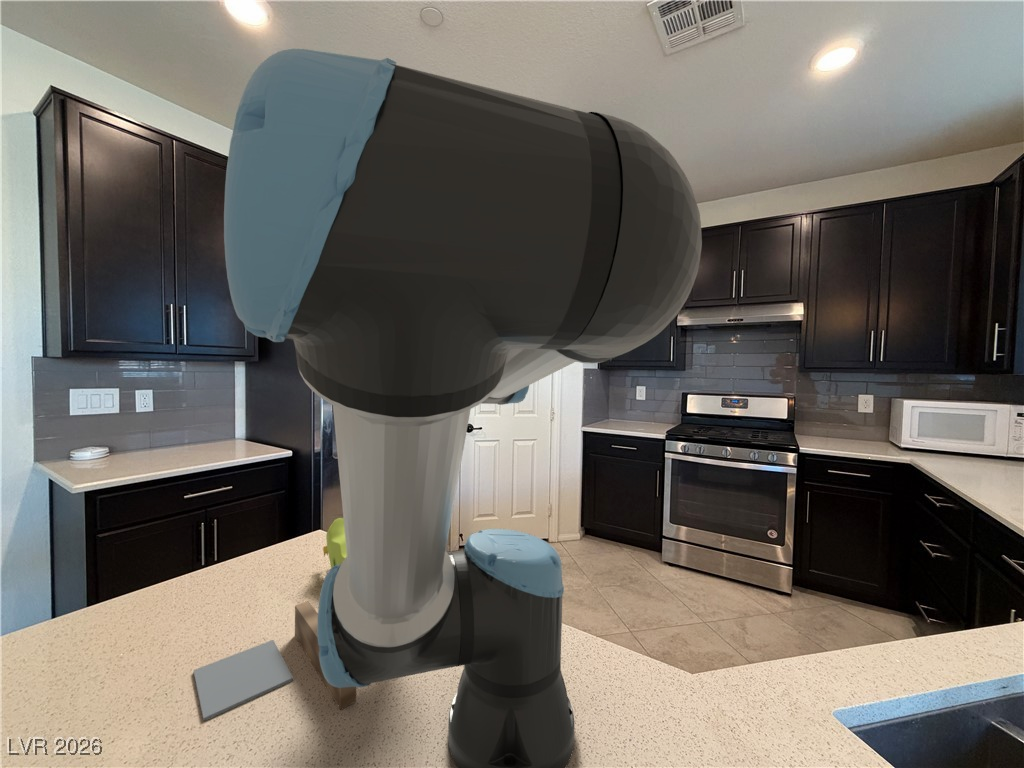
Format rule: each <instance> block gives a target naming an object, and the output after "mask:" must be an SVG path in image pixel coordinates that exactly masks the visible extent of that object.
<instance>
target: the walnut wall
mask: <svg viewBox="0 0 1024 768" xmlns="http://www.w3.org/2000/svg"><path fill="white" fill-rule="evenodd" d="M317 624H318V612H317V610H316V609H315V608H314V607H313V605H312V604H311V602H310V601H309V600H307V601H305V602H301V603H298V604H295V605H294V637H295V639H296V640H297V642H298V644H300V646H301V648H302V650H303V651H304V653H305V655H306V656H307V658H308V659H309V661H310V663H311V664H312V666H313V667H314V669H315V671H316V673H317V674H318V675H319V677H320V679H321V680H322V682H323V684H324V686H325V687H326V689H327V690H328V692H329V693H330V695H331V696H332V698H333V700H334V701H335V703H336V705H337V706H338V708H339V710H344V709H345V708H347V707H349V706H350V705H352V704H354V703H356V702H357V687H343V688H337V687H334V686H332V685H330V684H329V683H328V682H327V680H326V679H325V677H324V675H323V673H322V669H321V665H320V660H319V652H320V646H319V645H318V637H317Z"/></svg>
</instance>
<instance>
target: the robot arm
mask: <svg viewBox="0 0 1024 768" xmlns="http://www.w3.org/2000/svg"><path fill="white" fill-rule="evenodd" d="M237 106H238V107H237V111H236V115H235V119H234V125H233V130H232V135H231V138H230V142H229V148H228V149H229V150H228V158H227V165H226V171H225V172H226V173H225V182H224V183H225V184H224V204H223V205H224V207H223V208H224V209H223V210H224V211H223V239H224V240H223V244H224V245H223V246H224V257H225V258H224V261H225V268H226V276H227V277H226V278H227V281H228V288H229V293H230V294H229V295H230V298H231V303H232V305H233V308H234V311H235V315H236V316H237V318H238V319H239V320H240V321H241V322H242V323H243V326H244V329H245V330H246V331H248V332H249V333H251V334H253V335H254V336H256V337H258V338H259V337H260V338H266V339H268V340H270V341H272V342H273V343H283V342H285V340H286V339H288V340H292V341H293V344H294V348H295V356H296V364H297V368H298V371H299V374H300V376H301V378H302V379H303V381H304V383H305V384H306V385H307V386H308V387H309V389H310V390H311V391H312V392H313V393H315V395H317V396H318V397H319V398H320V399H322V400H324V401H325V402H327V403H328V404H330V405H332V411H333V421H334V432H335V442H336V452H337V453H336V455H337V463H338V474H339V483H340V484H339V486H340V494H341V495H340V496H341V506H342V515H343V517H342V518H343V519H344V529H345V540H346V551H347V556H346V558H345V559H344V561H343V562H342V564H338V565H335V566H334V567H332V568H331V567H330V570H328V572H327V573H326V574H325V577H324V579H323V582H322V586H321V588H320V589H321V590H320V595H319V600H318V612H317V613H318V624H317V637H318V645H319V646H320V652H319V660H320V665H321V669H322V673H323V675H324V677H325V679H326V680H327V682H328V683H329V684H330V685H332V686H334V687H337V688H343V687H356V688H364V687H369V686H370V685H371V684H374V683H378V682H383V681H385V682H386V681H389V680H394V679H398V678H405V677H409V676H414V675H419V674H423V673H429V672H434V671H439V670H443V669H450V668H454V667H461V666H463V670H462V672H461V676H460V679H459V683H458V687H457V692H456V693H455V695H454V697H453V700H452V702H451V705H450V708H449V712H448V713H449V714H448V723H447V724H448V733H447V734H448V735H447V739H448V747H449V752H450V754H451V757H452V760H453V762H454V763H455V765H456V767H457V768H565V767H567V766H568V764H569V762H570V760H571V758H572V756H571V754H572V755H573V752H572V751H574V748H573V747H575V715H574V711H573V707H572V703H571V701H570V698H569V696H568V692H567V686H566V684H565V683H566V682H565V681H564V676H563V673H562V671H561V668H562V667H561V666H562V662H561V661H562V660H561V659H562V658H561V656H562V625H563V623H562V622H563V621H562V620H563V595H564V592H565V586H564V585H563V573H562V572H563V570H562V569H563V567H562V559H561V556H560V554H559V553H558V551H557V550H556V549H555V548H554V547H553V546H552V545H551V544H550V543H549V542H547V541H546V540H543V539H542V538H540V537H538V536H535V535H532V534H530V533H526V532H523V531H518V530H513V529H505V528H503V529H502V528H489V529H487V528H485V529H482V530H479V531H477V532H474V533H471V534H470V535H469V536H468V537H467V539H466V542H465V543H464V550H463V549H462V550H457V551H455V550H454V551H447V544H448V540H449V539H448V538H449V533H450V527H451V523H452V517H453V511H454V506H455V505H454V504H455V500H456V494H457V488H458V482H459V477H460V472H461V471H460V470H461V465H462V459H463V453H464V449H465V442H466V439H467V438H466V436H467V432H468V426H469V420H470V414H471V411H472V410H471V409H473V408H475V407H477V406H479V405H483V404H485V405H486V404H487V405H488V404H489V405H490V404H491V405H496V404H497V405H501V406H503V405H509V404H519V403H521V402H523V401H524V400H525V399H526V395H528V392H529V388H530V385H532V384H534V383H536V382H539V381H541V380H542V379H544V378H546V377H548V376H550V375H553V373H556V372H558V371H560V370H562V369H564V368H566V367H568V366H570V365H572V364H574V363H580V364H581V363H582V364H590V365H591V364H599V363H604V362H607V361H610V360H612V359H615V358H617V357H618V356H622V355H624V354H626V353H629V352H631V351H632V350H634V349H636V348H638V347H640V346H642V345H644V344H646V343H647V342H649V341H650V340H652V339H653V338H655V337H657V335H659V334H660V333H662V331H663V330H664V329H665V328H666V327H667V326H668V325H669V324H671V322H672V321H673V320H674V319H675V318H676V317H677V316H678V315H679V312H680V311H681V310H682V308H683V306H684V305H685V303H686V301H687V299H688V298H689V295H690V294H691V292H692V289H693V286H694V284H695V282H696V281H695V280H696V278H697V275H698V271H699V269H700V268H699V266H700V261H701V255H702V254H701V253H702V247H703V245H702V244H703V239H702V223H701V222H702V221H701V213H700V210H699V206H698V203H697V200H696V198H695V197H696V196H695V194H694V190H693V188H692V185H691V183H690V181H689V179H688V177H687V175H686V174H685V172H684V170H683V169H682V168H681V166H680V164H679V163H678V161H677V159H676V158H675V156H673V155H672V153H671V152H670V151H669V150H668V149H667V148H666V146H664V145H662V143H660V142H659V141H658V140H657V139H655V138H654V137H653V136H652V135H651V134H650V133H649V132H648V131H645V130H644V129H642V128H641V127H639V126H637V125H636V124H634V123H633V122H630V121H627V120H624V119H622V118H619V117H617V116H613V115H609V114H604V113H601V112H596V111H589V112H586V111H583V110H582V111H581V110H577V109H572V108H570V107H567V106H563V105H559V104H555V103H552V102H551V103H550V102H547V101H542V100H539V99H535V98H531V97H527V96H523V95H518V94H515V93H511V92H506V91H502V90H499V89H496V88H495V89H494V88H491V87H487V86H483V85H480V84H479V85H478V84H475V83H471V82H467V81H463V80H458V79H455V78H450V77H446V76H443V75H438V74H434V73H430V72H427V71H422V70H418V69H414V68H410V67H406V66H402V65H398V64H397V61H394V60H392V59H391V58H389V57H386V58H383V59H374V58H367V57H362V56H361V57H360V56H353V55H347V54H341V53H333V52H326V51H320V50H313V49H307V48H306V49H305V48H287V49H284V50H280V51H277V52H276V53H273V54H272V55H269V56H268V57H267V58H266V59H264V60H263V61H262V62H261V63H260V64H259V65H258V66H257V68H256V69H255V70H254V72H253V73H252V74H251V75H250V78H249V80H248V82H247V83H246V85H245V87H244V90H243V92H242V96H241V98H240V100H239V103H238V105H237ZM570 757H571V758H570ZM569 759H570V760H569ZM566 765H567V766H566Z"/></svg>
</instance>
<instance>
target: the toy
mask: <svg viewBox="0 0 1024 768" xmlns="http://www.w3.org/2000/svg"><path fill="white" fill-rule="evenodd" d="M325 537H326V545H325V546H323V548H322V549H323V556H324V557H325V556H326V555H327V556H328V558H329V564H330V569H331V568H332V567H334V566H335V565H338V564H342V562H343V561H344V559H345V558H346V556H347V551H346V540H345V529H344V519H343V517H338V518H336V519H334V520H333V522H332V523H331V525H330V526H329V528H328V530H327V531H326V535H325Z"/></svg>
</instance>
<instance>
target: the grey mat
mask: <svg viewBox="0 0 1024 768" xmlns="http://www.w3.org/2000/svg"><path fill="white" fill-rule="evenodd" d="M193 676H194V681H195V686H196V687H195V688H196V691H197V696H198V700H199V705H200V710H201V711H200V712H201V717H202V720H203V722H205V721H208V720H210V719H212V718H214V717H217V716H219V715H221V714H223V713H225V712H227V711H229V710H232V709H234V708H237V707H238V706H240V705H242V704H245V703H247V702H249V701H252V700H254V699H256V698H258V697H260V696H262V695H264V694H266V693H269V692H271V691H273V690H276V689H277V688H279V687H282V686H284V685H286V684H288V683H291V682H293V681H294V677H293V675H292V673H291V670H290V669H289V667H288V665H287V663H286V662H285V660H284V657H283V656H282V653H281V652H280V650H279V648H278V646H277V644H276V643H275V640H274V639H271V640H268V641H266V642H264V643H261V644H258V645H256V646H253V647H249V648H247V649H245V650H243V651H240V652H238V653H235V654H231V655H230V656H227V657H224V658H222V659H219V660H217V661H213V662H211V663H208V664H206V665H203V666H201V667H199V668H196V669H193Z"/></svg>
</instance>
